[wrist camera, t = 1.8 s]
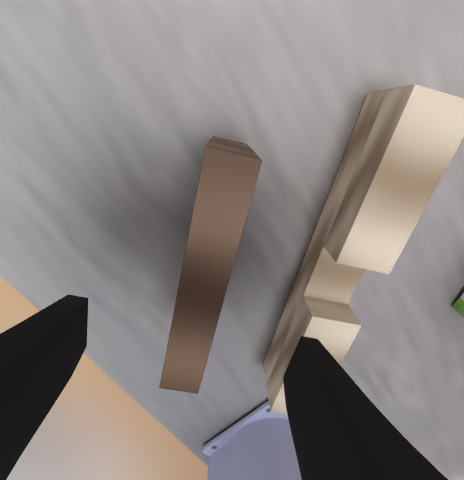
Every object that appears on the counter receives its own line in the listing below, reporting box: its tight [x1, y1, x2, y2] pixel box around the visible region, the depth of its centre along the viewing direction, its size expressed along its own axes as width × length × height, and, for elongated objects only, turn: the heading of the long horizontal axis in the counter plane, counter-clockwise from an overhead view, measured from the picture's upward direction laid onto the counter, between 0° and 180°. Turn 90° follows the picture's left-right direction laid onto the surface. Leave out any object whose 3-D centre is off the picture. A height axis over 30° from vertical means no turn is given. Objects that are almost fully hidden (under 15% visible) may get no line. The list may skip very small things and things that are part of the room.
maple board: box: [263, 84, 464, 414], centre depth 17 cm, size 20×3×4 cm, turn 166°
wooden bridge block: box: [159, 137, 262, 394], centre depth 15 cm, size 12×2×6 cm, turn 166°
